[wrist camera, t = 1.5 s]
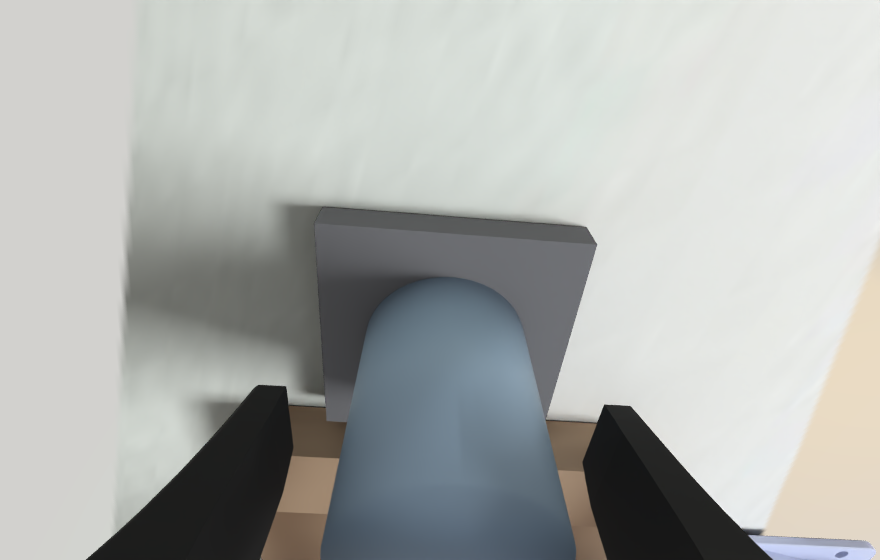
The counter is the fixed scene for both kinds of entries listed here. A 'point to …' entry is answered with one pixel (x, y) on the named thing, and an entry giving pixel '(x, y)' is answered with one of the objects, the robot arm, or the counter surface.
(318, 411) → the socket plate
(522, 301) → the mat
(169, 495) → the robot arm
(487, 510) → the peg
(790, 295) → the counter surface
